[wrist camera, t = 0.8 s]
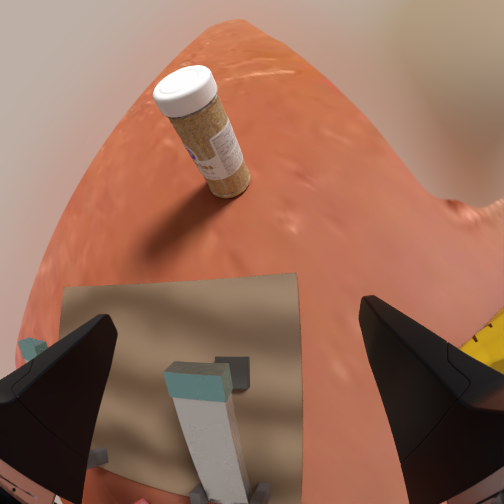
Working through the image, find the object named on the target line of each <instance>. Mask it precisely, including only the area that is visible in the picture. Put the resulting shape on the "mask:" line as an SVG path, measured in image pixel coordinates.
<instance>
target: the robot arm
mask: <svg viewBox="0 0 504 504" xmlns="http://www.w3.org/2000/svg"><path fill="white" fill-rule="evenodd" d="M359 323H360V327H361V331H362V335H363V340H364V344H365V348H366V352H367V356H368V360H369V363H370V366H371V369H372V372H373V375H374V378H375V380H376V383H377V386H378V389H379V392H380V395H381V398H382V401H383V405H384V408H385V411H386V414H387V417H388V421H389V424H390V427H391V431H392V434H393V438H394V441H395V445H396V449H397V452H398V456H399V460H400V463H401V468H402V472H403V477H404V481H405V485H406V490H407V494H408V499H409V504H440V503H442V502H444V501H446V500H447V504H504V374H502V373H501V372H499V371H497V370H495V369H493V368H491V367H489V366H488V365H486V364H484V363H482V362H480V361H478V360H477V359H475V358H473V357H471V356H469V355H468V354H466V353H464V352H463V351H461V350H460V349H458V348H456V347H455V346H453V345H452V344H450V343H449V342H448V343H447V341H446V340H444V339H443V338H441V337H439V336H438V335H436V334H435V333H433V332H432V331H430V330H429V329H427V328H426V327H424V326H422V325H421V324H419V323H418V322H416V321H415V320H413V319H411V318H410V317H408V316H407V315H405V314H403V313H402V312H400V311H399V310H397V309H395V308H394V307H392V306H391V305H389V304H387V303H386V302H384V301H383V300H381V299H379V298H378V297H376V296H374V295H369V296H363V297H362V299H361V304H360V311H359ZM117 338H118V332H117V329H116V327H115V325H114V323H113V321H112V318H111V317H110V315H109V314H98V315H97V316H95V317H94V318H92V319H90V320H89V321H87V322H86V323H84V324H83V325H81V326H80V327H78V328H77V329H75V330H74V331H72V332H71V333H69V334H68V335H66V336H65V337H64V338H62V339H61V340H59V341H58V342H56V343H55V344H53V345H52V346H50V347H49V348H47V349H46V350H44V351H43V352H42V353H40V354H39V355H37V356H36V357H35V358H33V359H31V360H30V361H29V362H27V363H26V364H24V365H23V366H21V367H20V368H18V369H17V370H15V371H14V372H12V373H11V374H9V375H7V376H6V377H4V378H3V379H1V380H0V504H57V503H55V502H54V500H55V497H56V495H58V496H60V497H62V498H64V499H66V500H68V501H70V502H72V503H74V504H82V497H83V489H84V482H85V476H86V470H87V464H88V458H89V453H90V448H91V443H92V438H93V434H94V430H95V425H96V421H97V417H98V413H99V409H100V405H101V402H102V398H103V394H104V391H105V387H106V384H107V380H108V377H109V373H110V370H111V365H112V361H113V356H114V351H115V346H116V342H117Z"/></svg>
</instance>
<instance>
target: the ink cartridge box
mask: <svg viewBox="0 0 504 504" xmlns="http://www.w3.org/2000/svg"><path fill="white" fill-rule="evenodd" d="M133 504H149V503H148V502H147V501H146V500H145V499H144V498H142V499H140V500H138V501H136V502H135V503H133Z"/></svg>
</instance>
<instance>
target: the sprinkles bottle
mask: <svg viewBox="0 0 504 504" xmlns="http://www.w3.org/2000/svg"><path fill="white" fill-rule="evenodd" d="M153 99H154V101H155V102H156V104H157V106H158V108H159V109H160V111H161V112H162V114H164V115H165V116H166V117H168V118H169V120H170V122H171V123H172V125H173V126H174V128H175V130H176V132H177V133H178V135H179V137H180V138H181V140H182V142H183V144H184V146H185V147H186V149H187V151H188V152H189V154H190V156H191V157H192V159H193V161H194V162H195V164H196V166H197V168H198V169H199V171H200V173H201V174H202V175H203V176H204V178H205V180H206V181H207V183H208V185H209V188H210V190H211V192H212V193H213V194H214V195H216V196H217V197H221V198H231V197H235V196H237V195H239V194H241V193H242V192H243V191H244V190H245V189H246V188H247V186H248V185H249V183H250V179H251V177H250V172H249V170H248V168H247V167H246V165H245V162H244V160H243V155H242V152H241V150H240V147H239V144H238V142H237V139H236V136H235V134H234V131H233V129H232V126H231V124H230V121H229V119H228V116H227V114H226V113H225V111H224V108H223V106H222V103H221V101H220V99H219V97H218V92H217V85H216V82H215V80H214V78H213V75H212V73H211V71H210V70H209V69H208V68H207V67H204V66H199V65H197V66H189V67H185V68H182V69H179V70H177V71H175V72H173V73H171V74H170V75H168V76H167V77H165V78H164V79H163V80H162V81H160V82H159V84H158V85H157V86H156V87H155V89H154V92H153Z"/></svg>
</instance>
